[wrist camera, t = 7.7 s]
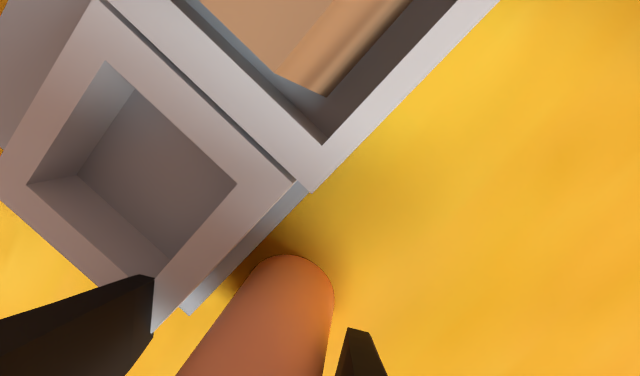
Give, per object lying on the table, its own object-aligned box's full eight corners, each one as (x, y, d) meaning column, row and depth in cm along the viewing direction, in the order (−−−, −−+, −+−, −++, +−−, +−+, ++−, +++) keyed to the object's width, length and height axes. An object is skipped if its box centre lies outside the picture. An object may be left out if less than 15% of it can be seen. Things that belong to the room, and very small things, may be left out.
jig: (507, -14, 8) (568, -71, 6) (201, 303, 12) (156, 353, 9) (211, -321, 8) (138, -529, 5) (-17, 107, 11) (-128, 104, 9)
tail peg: (353, 299, 11) (338, 538, 5) (292, 351, 12) (211, 614, 6) (285, 236, 11) (177, 398, 5) (229, 293, 12) (71, 496, 5)
